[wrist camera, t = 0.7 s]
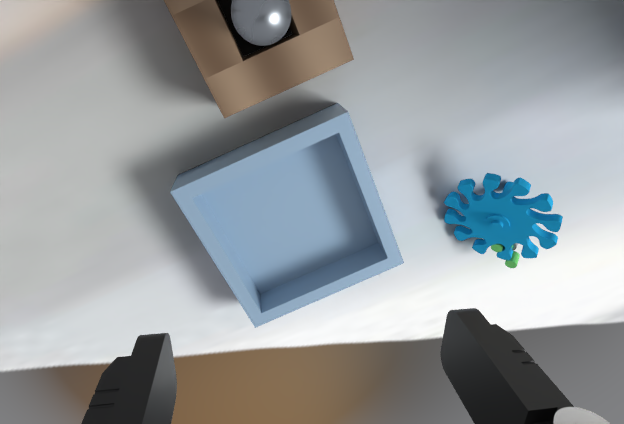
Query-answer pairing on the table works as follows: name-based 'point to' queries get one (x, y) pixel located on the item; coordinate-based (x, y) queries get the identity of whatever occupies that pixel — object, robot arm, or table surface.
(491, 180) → the gear
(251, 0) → the peg
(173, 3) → the pin block
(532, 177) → the table surface
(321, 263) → the tray
